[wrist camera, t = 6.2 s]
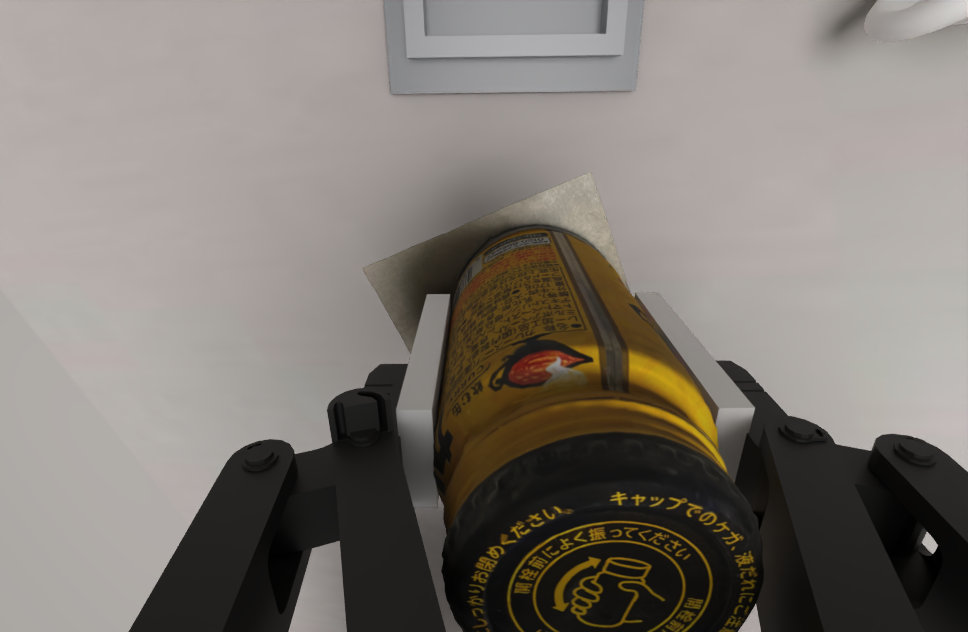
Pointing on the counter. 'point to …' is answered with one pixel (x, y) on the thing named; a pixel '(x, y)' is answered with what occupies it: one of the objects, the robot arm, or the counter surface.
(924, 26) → the mug
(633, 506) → the condiment
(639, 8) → the dock
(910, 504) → the robot arm
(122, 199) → the counter surface
